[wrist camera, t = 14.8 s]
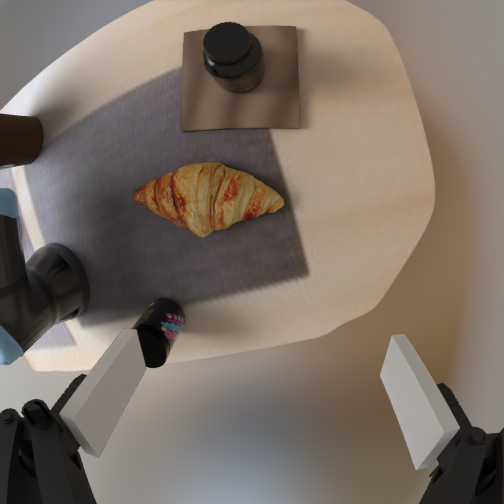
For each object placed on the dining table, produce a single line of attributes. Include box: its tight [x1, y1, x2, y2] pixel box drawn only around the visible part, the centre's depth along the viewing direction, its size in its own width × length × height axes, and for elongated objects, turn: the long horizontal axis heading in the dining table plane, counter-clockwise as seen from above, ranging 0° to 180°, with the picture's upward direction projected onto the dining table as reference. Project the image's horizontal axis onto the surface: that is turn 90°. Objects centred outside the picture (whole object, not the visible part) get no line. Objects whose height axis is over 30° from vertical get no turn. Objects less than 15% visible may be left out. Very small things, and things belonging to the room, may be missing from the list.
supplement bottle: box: [201, 22, 265, 94], centre depth 27 cm, size 7×7×12 cm
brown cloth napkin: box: [181, 26, 299, 132], centre depth 34 cm, size 16×16×1 cm
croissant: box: [133, 162, 284, 237], centre depth 37 cm, size 21×10×8 cm, turn 88°
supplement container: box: [131, 299, 185, 368], centre depth 42 cm, size 7×7×10 cm
